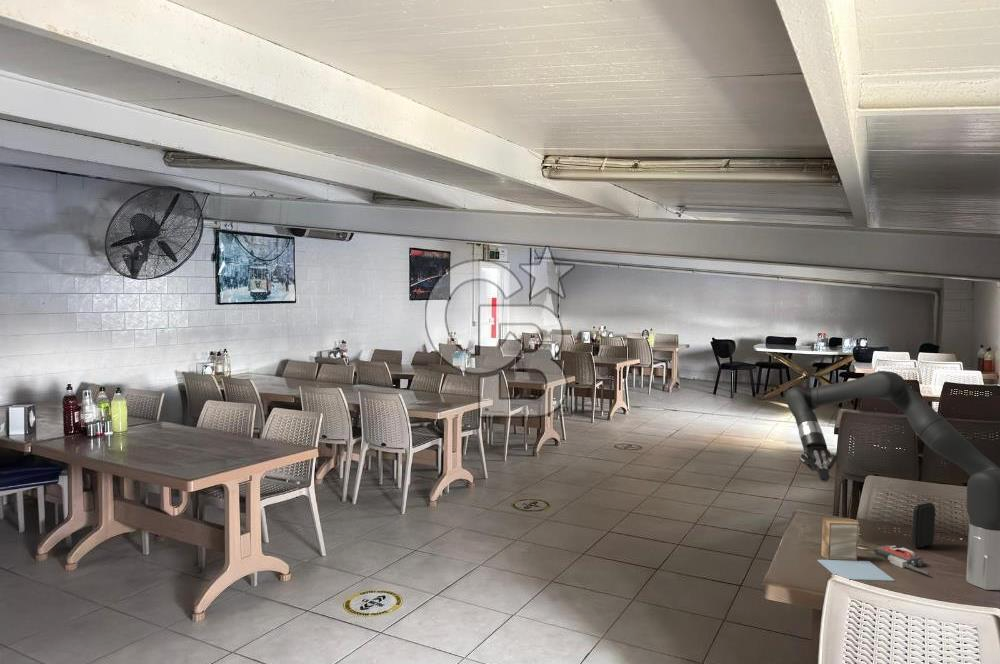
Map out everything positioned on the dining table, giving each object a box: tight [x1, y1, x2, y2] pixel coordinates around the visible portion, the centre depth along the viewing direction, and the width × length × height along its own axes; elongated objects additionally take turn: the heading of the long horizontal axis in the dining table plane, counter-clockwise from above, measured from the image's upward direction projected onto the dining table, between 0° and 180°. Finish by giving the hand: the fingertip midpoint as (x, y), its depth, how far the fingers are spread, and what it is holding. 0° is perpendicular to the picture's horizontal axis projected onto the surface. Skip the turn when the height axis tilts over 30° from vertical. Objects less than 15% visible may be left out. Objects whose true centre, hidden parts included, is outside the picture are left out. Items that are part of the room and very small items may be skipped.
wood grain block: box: [820, 517, 860, 561], centre depth 224 cm, size 5×9×12 cm, turn 89°
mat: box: [817, 559, 896, 582], centre depth 213 cm, size 15×16×1 cm
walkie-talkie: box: [873, 544, 930, 576], centre depth 220 cm, size 9×4×20 cm
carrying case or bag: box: [911, 502, 937, 549], centre depth 236 cm, size 11×3×15 cm, turn 118°
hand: (825, 480), depth 235 cm, fingers closed
